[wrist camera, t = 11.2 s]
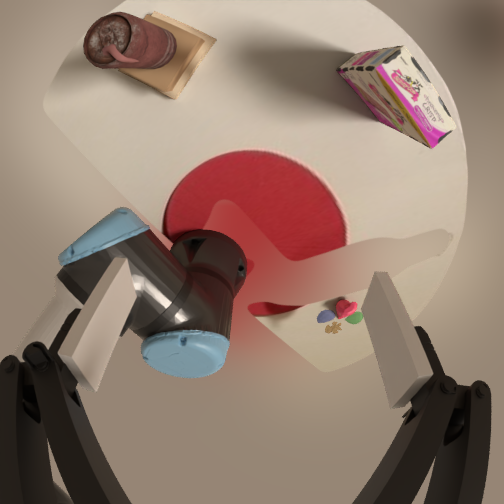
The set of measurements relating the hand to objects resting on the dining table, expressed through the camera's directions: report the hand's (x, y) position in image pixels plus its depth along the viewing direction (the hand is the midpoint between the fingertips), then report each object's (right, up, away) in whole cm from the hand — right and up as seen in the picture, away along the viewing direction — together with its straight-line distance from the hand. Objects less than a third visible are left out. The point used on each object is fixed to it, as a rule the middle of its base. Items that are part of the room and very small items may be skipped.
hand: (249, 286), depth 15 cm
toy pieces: (+20, -13, +47) cm, 53 cm away
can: (-13, +29, +15) cm, 35 cm away
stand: (-13, +31, +19) cm, 39 cm away
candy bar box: (+18, +26, +21) cm, 38 cm away
